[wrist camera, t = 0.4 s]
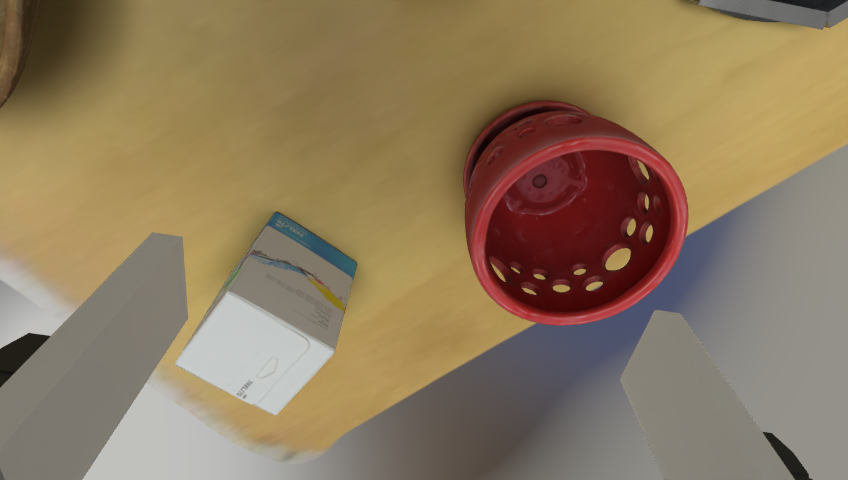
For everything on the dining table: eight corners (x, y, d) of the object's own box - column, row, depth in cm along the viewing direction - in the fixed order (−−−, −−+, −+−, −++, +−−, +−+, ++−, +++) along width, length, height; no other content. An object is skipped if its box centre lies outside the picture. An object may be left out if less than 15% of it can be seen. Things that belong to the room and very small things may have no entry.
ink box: (275, 208, 42) (227, 288, 32) (359, 262, 45) (339, 353, 35) (227, 275, 46) (169, 367, 35) (307, 322, 48) (275, 420, 38)
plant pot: (500, 264, 45) (522, 358, 34) (428, 137, 39) (428, 204, 29) (646, 199, 42) (718, 281, 31) (590, 51, 36) (656, 91, 26)
